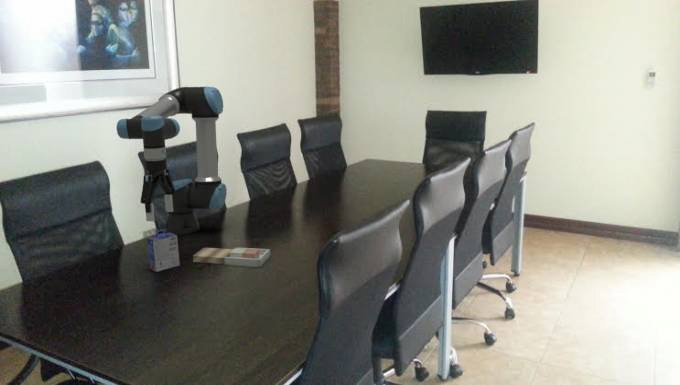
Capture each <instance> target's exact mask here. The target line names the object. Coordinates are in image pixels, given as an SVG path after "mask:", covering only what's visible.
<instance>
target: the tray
mask: <svg viewBox="0 0 680 385" xmlns="http://www.w3.org/2000/svg"><path fill="white" fill-rule="evenodd" d="M235 248H238V249H254V250H259V258H258V259H251V258H235V257H225V264H224V266H233V267H234V266H235V267H246V268H248V267H249V268H261V267H262V266H263V265H264V264H265V263H266V262H267V261H268V260H269V259H270V258H271V249H270V248H269V249H267V248H254V247H253V248H250V247H239V246H237V247H235Z"/></svg>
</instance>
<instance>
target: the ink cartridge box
mask: <svg viewBox="0 0 680 385" xmlns="http://www.w3.org/2000/svg"><path fill="white" fill-rule="evenodd" d="M154 231H155V236H151V237H148V238H146V240H147V248H148V249H147V250H148V255H149V256H148V258H149V264H150V265H149V266H150V269H151V270H152V271H153V272H155V273H157V272H161V271H164V270H169V269H172V268H176V267H179V266H180V255H179V245H178V244H179V243H178V235H176V234H173V233H166V232H165V228H162V229H161V228H160V229H156V230H154ZM161 232H162V233H161Z"/></svg>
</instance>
